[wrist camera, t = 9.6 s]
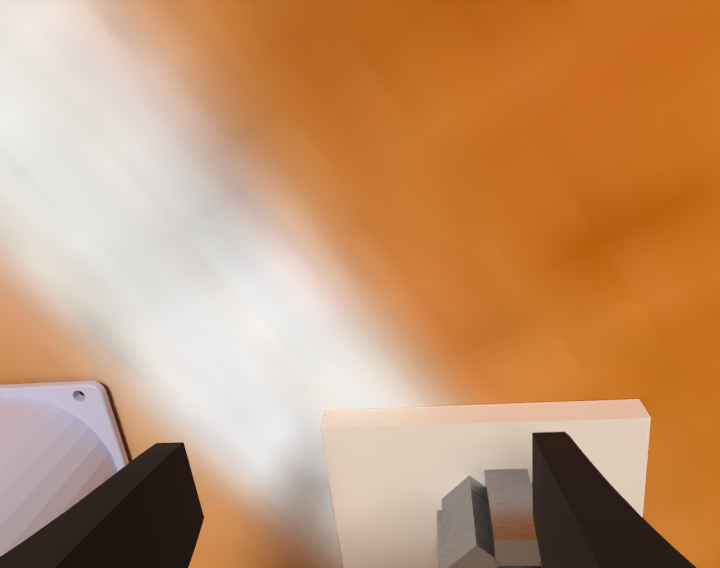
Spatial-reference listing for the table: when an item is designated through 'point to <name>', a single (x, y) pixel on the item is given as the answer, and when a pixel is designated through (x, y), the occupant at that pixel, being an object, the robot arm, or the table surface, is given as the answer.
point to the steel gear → (488, 522)
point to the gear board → (457, 465)
